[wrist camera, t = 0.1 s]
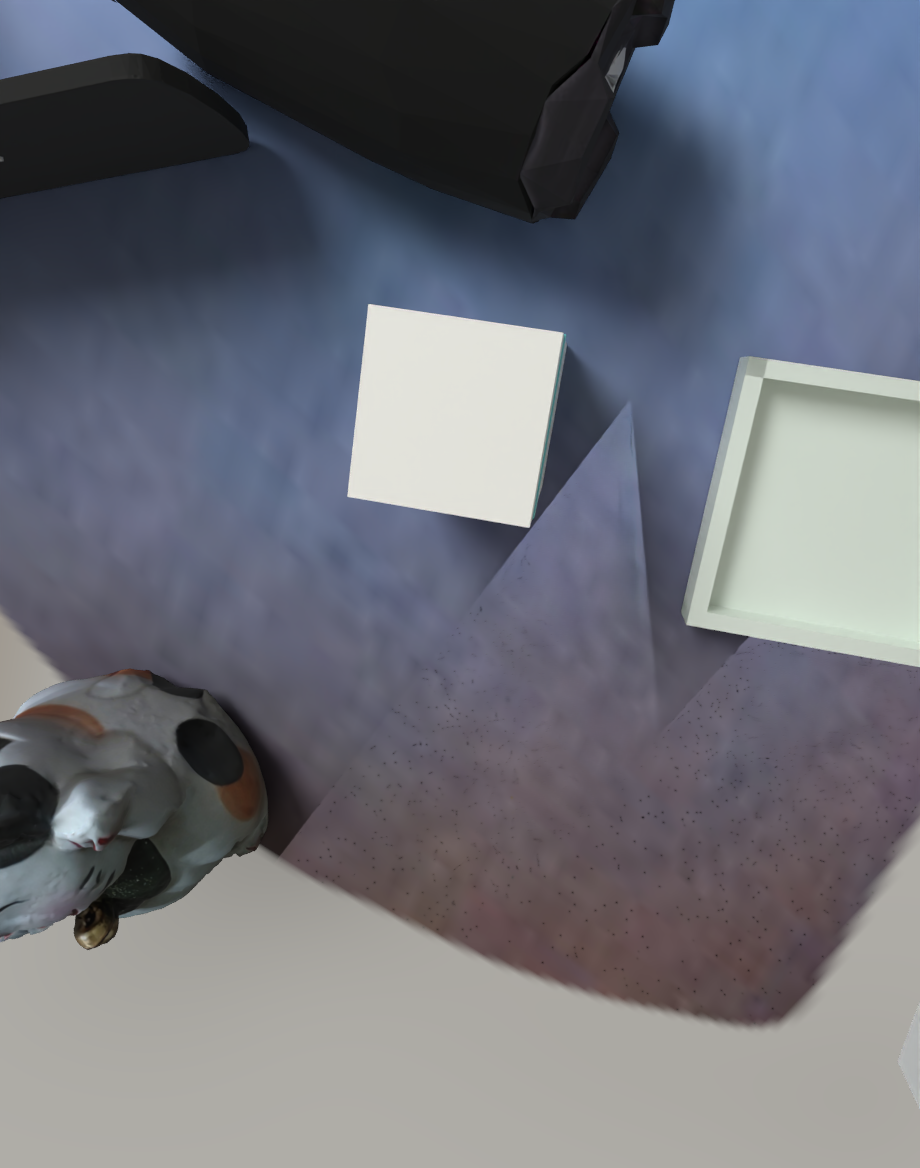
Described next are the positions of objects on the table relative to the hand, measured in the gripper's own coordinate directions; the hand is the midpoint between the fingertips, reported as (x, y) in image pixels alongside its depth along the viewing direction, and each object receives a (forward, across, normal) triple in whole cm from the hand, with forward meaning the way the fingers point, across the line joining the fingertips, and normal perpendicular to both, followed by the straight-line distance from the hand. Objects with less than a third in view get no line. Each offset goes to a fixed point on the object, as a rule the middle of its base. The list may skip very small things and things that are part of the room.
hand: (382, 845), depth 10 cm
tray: (+27, +13, +2) cm, 30 cm away
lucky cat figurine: (+27, -17, -17) cm, 36 cm away
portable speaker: (+28, 0, +16) cm, 32 cm away
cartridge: (+27, -2, +4) cm, 27 cm away
